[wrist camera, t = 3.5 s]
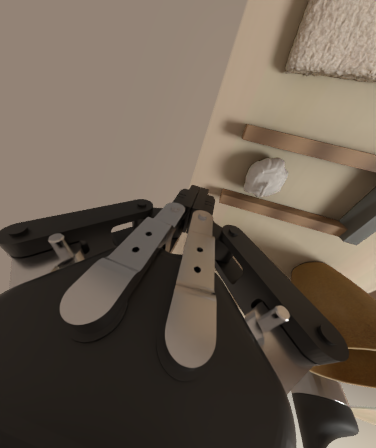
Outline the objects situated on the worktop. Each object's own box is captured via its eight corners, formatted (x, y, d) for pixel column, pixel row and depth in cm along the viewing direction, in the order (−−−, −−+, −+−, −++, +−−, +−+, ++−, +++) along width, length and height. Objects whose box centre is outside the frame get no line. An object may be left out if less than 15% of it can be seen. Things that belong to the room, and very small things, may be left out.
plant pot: (325, 297, 35) (376, 394, 23) (263, 280, 37) (279, 362, 25) (382, 260, 26) (519, 390, 14) (296, 240, 28) (348, 339, 15)
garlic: (256, 197, 25) (261, 212, 21) (235, 176, 24) (236, 188, 20) (291, 171, 21) (306, 183, 17) (268, 144, 20) (278, 151, 16)
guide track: (420, 165, 18) (455, 174, 15) (342, 231, 25) (356, 245, 22) (246, 123, 19) (249, 125, 17) (220, 196, 26) (218, 205, 24)
